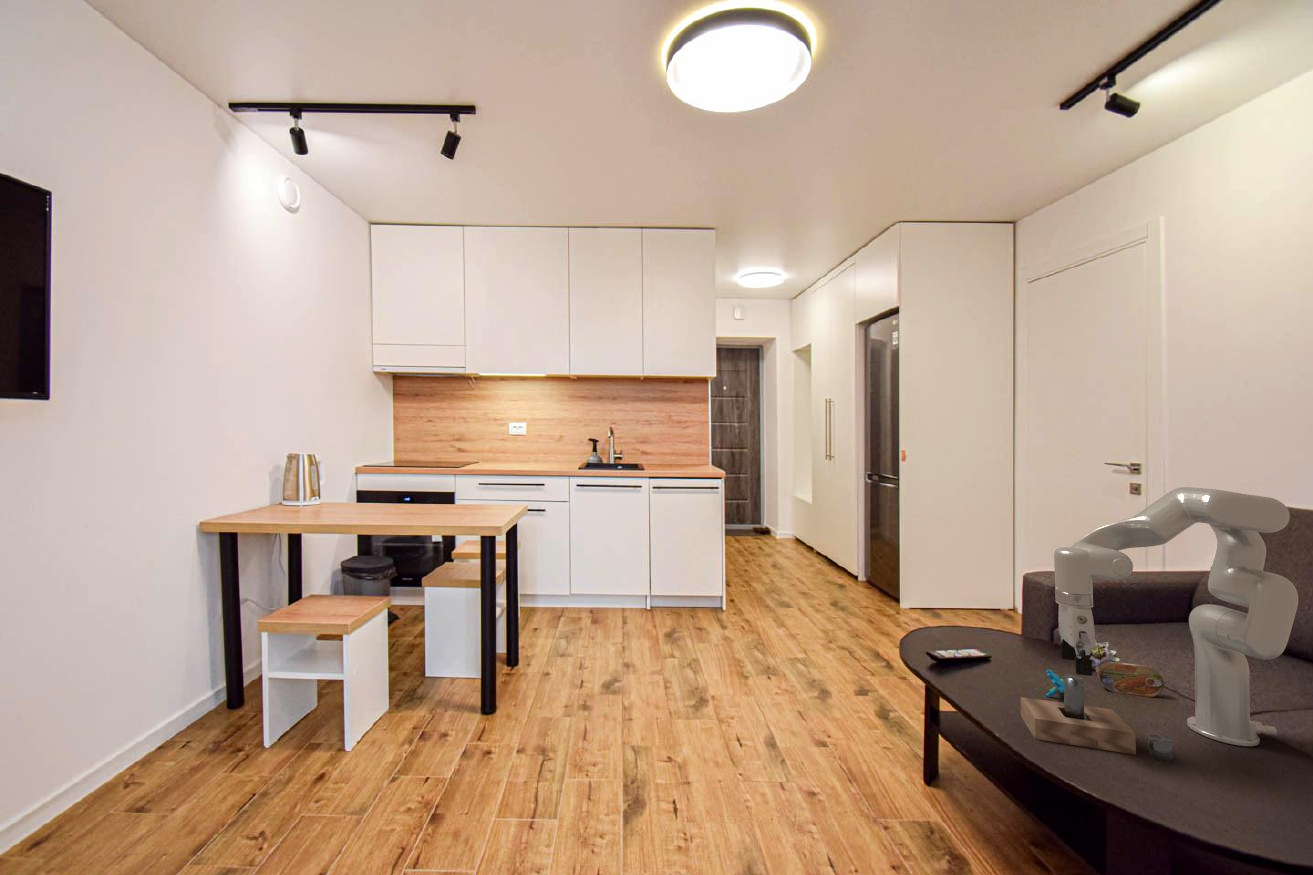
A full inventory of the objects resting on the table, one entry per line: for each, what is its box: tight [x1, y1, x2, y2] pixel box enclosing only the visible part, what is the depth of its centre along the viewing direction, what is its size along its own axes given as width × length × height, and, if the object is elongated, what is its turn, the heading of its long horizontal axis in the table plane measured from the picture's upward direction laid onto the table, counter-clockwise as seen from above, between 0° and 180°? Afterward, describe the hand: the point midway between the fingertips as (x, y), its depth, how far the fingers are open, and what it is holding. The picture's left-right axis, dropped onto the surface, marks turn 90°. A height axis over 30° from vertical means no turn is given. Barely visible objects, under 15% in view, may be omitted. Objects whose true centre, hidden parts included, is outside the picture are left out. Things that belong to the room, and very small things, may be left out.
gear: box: [1045, 669, 1064, 698], centre depth 156 cm, size 11×6×10 cm
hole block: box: [1020, 696, 1137, 755], centre depth 136 cm, size 20×12×5 cm, turn 70°
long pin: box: [1063, 673, 1085, 720], centre depth 136 cm, size 4×4×14 cm
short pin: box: [1148, 734, 1173, 763], centre depth 126 cm, size 4×4×4 cm
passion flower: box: [1076, 639, 1121, 673], centre depth 177 cm, size 11×11×12 cm
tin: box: [1096, 661, 1165, 698], centre depth 159 cm, size 15×3×8 cm, turn 68°
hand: (1076, 666), depth 136 cm, fingers open, 9 cm apart
